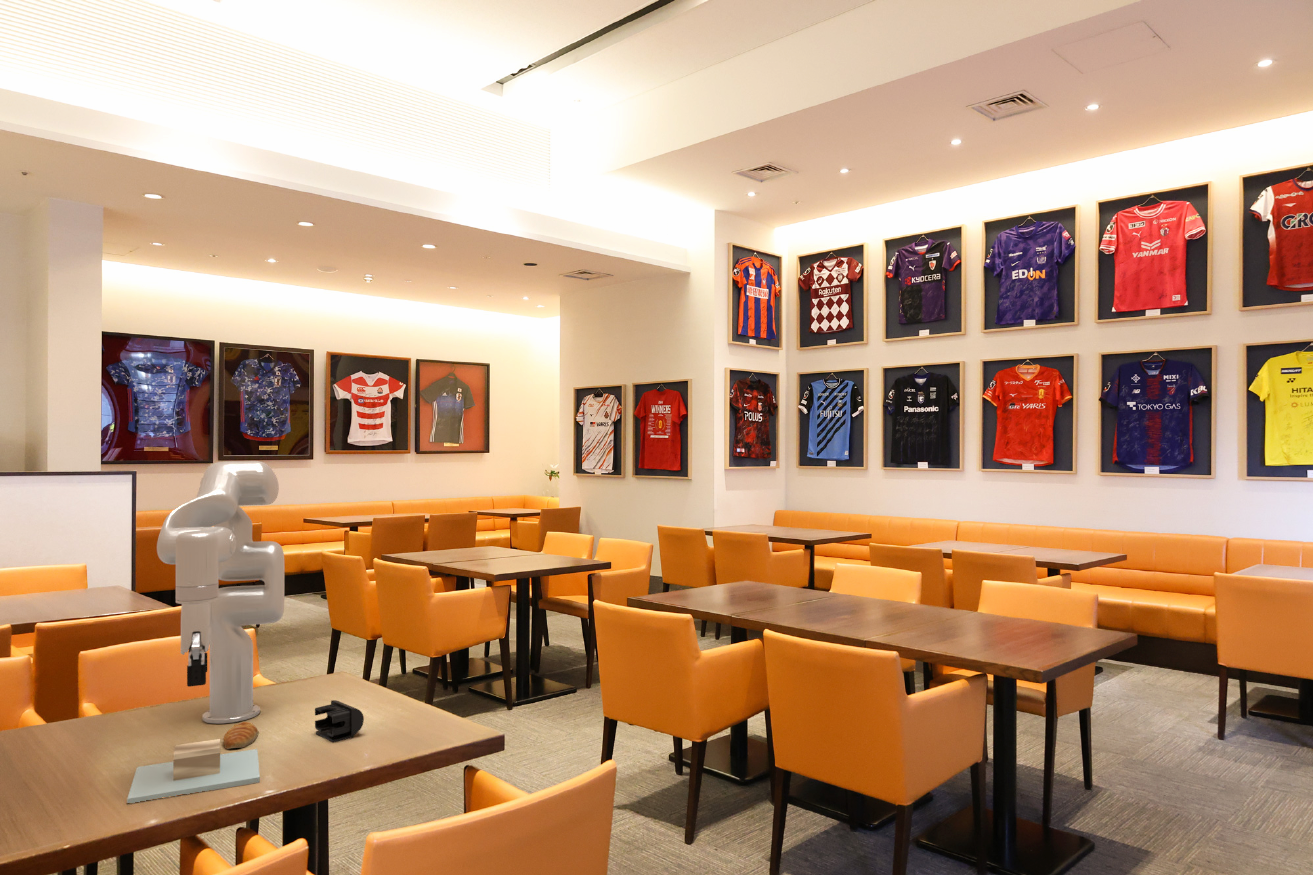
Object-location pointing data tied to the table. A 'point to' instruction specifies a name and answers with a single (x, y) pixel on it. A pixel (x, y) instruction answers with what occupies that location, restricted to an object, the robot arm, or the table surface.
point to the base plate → (160, 777)
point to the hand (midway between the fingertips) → (197, 679)
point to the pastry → (240, 735)
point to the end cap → (338, 721)
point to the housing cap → (196, 759)
